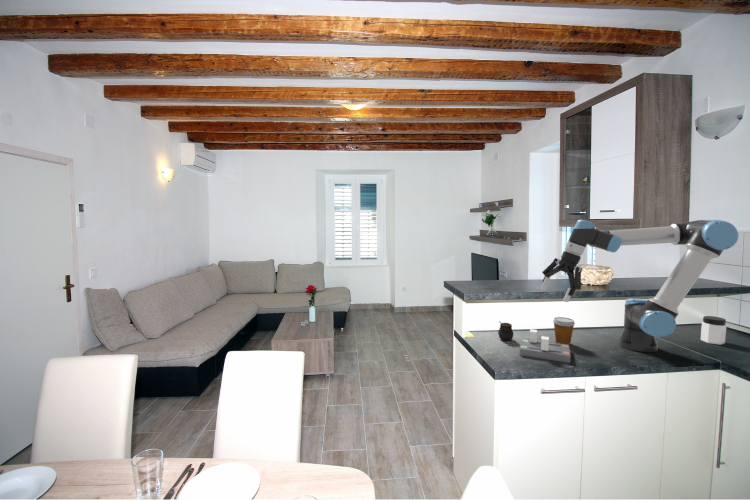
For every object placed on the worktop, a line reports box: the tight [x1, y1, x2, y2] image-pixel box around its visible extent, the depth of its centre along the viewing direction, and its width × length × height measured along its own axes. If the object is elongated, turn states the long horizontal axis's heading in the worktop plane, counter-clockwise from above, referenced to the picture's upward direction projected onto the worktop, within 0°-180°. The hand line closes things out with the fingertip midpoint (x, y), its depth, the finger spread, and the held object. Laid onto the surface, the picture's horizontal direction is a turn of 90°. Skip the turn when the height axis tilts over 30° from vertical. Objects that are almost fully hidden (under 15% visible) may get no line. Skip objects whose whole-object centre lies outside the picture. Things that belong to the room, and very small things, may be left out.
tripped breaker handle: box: [540, 335, 550, 351], centre depth 160 cm, size 3×4×5 cm
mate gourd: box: [497, 320, 514, 342], centre depth 183 cm, size 7×8×10 cm
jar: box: [700, 315, 727, 346], centre depth 179 cm, size 9×8×12 cm
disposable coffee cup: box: [552, 316, 576, 346], centre depth 177 cm, size 10×10×12 cm
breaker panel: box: [519, 338, 571, 364], centre depth 165 cm, size 20×15×3 cm
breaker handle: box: [529, 328, 538, 343], centre depth 171 cm, size 3×4×5 cm
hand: (553, 295), depth 169 cm, fingers open, 13 cm apart
